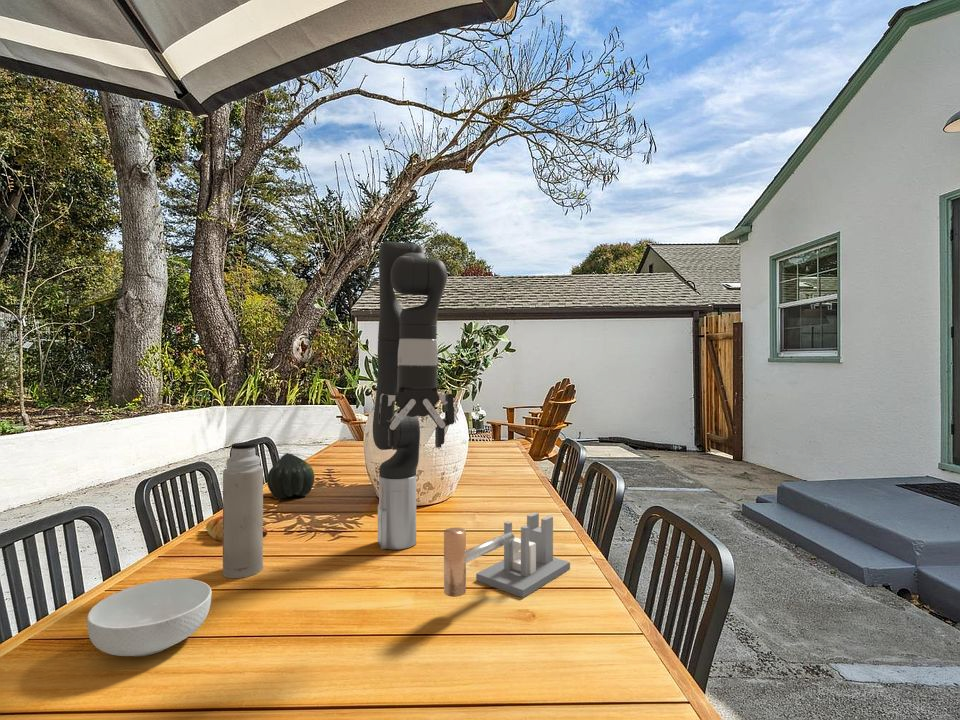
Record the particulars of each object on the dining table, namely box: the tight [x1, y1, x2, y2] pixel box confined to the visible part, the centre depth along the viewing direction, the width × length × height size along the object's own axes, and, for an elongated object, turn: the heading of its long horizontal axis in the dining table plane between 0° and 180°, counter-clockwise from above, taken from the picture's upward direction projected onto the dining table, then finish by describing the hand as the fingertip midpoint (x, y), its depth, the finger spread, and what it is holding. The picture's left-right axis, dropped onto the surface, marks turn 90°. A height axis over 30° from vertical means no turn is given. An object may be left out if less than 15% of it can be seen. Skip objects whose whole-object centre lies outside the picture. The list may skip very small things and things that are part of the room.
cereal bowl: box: [86, 578, 212, 657], centre depth 82 cm, size 17×17×7 cm
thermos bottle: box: [222, 441, 264, 579], centre depth 110 cm, size 8×8×28 cm
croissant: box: [205, 515, 268, 542], centre depth 132 cm, size 21×10×8 cm, turn 68°
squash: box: [266, 452, 315, 499], centre depth 172 cm, size 14×15×15 cm
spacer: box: [512, 536, 536, 575], centre depth 108 cm, size 2×6×6 cm, turn 50°
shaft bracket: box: [475, 511, 571, 599], centre depth 109 cm, size 18×12×12 cm, turn 140°
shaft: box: [443, 527, 515, 598], centre depth 98 cm, size 19×4×11 cm, turn 140°
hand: (416, 448), depth 96 cm, fingers open, 8 cm apart
